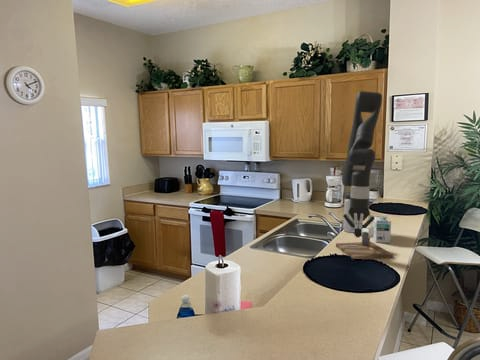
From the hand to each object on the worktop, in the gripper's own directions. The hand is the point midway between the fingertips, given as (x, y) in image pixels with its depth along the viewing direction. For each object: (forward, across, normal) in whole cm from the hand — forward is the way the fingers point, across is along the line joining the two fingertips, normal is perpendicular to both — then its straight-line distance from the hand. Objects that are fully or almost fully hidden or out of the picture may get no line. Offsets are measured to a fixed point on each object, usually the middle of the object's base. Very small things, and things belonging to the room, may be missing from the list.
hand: (357, 237), depth 147 cm
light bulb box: (+8, +10, +27) cm, 30 cm away
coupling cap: (+2, +3, +4) cm, 6 cm away
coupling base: (+8, +2, +4) cm, 9 cm away
